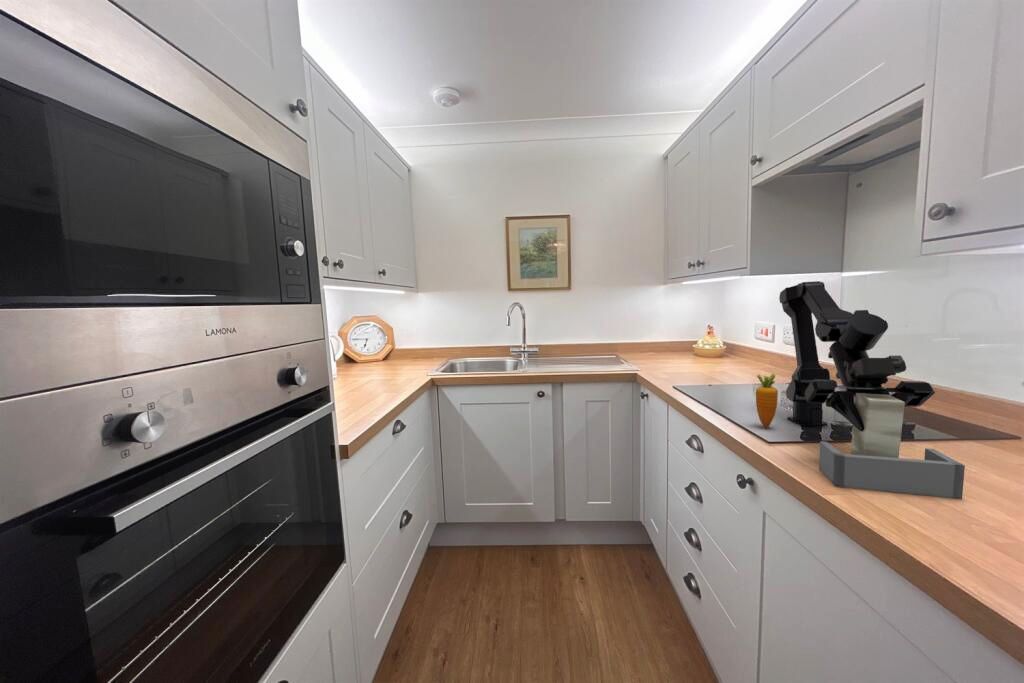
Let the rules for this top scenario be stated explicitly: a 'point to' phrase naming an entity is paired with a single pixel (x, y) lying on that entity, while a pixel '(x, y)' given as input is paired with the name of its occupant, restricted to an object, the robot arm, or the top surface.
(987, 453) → the top surface
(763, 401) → the carrot
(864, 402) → the sage block
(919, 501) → the top surface
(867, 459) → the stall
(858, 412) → the robot arm
